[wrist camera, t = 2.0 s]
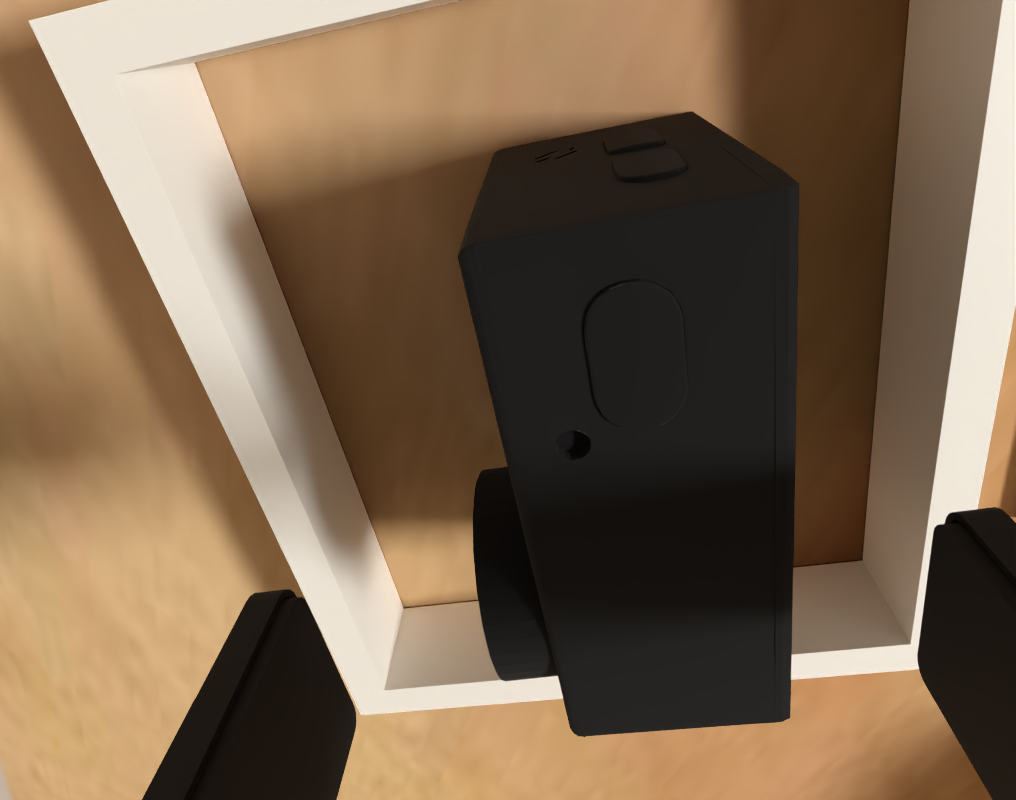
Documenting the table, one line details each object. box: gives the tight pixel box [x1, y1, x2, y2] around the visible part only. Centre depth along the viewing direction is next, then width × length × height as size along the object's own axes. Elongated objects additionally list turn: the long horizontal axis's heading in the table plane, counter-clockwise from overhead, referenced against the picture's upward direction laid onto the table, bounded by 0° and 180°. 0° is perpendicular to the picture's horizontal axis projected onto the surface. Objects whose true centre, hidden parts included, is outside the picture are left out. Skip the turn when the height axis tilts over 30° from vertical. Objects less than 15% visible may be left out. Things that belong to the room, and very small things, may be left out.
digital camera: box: [458, 112, 799, 737], centre depth 14 cm, size 10×5×7 cm, turn 11°
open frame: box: [29, 0, 1016, 715], centre depth 15 cm, size 18×16×3 cm
